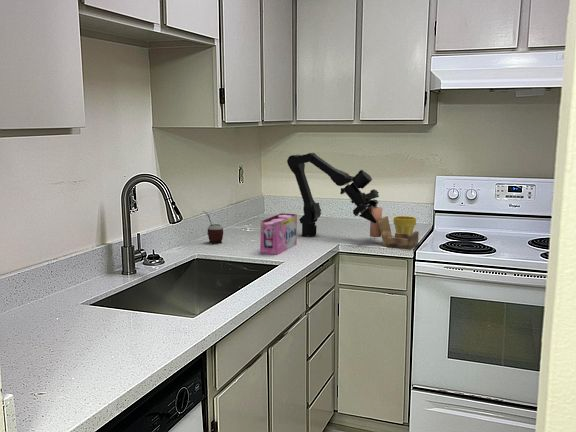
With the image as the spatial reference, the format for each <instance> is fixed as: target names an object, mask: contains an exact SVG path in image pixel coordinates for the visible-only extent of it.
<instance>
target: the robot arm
mask: <svg viewBox="0 0 576 432" xmlns="http://www.w3.org/2000/svg"><path fill="white" fill-rule="evenodd" d="M286 162H287V165H288V167H289V170H290V171H291V172H292V173H293V174H294V176H295V180H296V183H297V185H298V188H299V192H300V195H301V198H302V202H303V215H302V216H301V217H300V218H299V223H300V224H301V236H302V237H316V235H317V225H316V222H318V219H319V218H320V217H321V215H322V209H321V207H320V203H319V202H316V201H315V200H314V199H313V195H312V192H311V188H310V185H309V182H308V179H307V176H306V173H305V172H306V171H305V167H306V164H307V163H311V164H312V165H314V166H315V167H316V168H317V169H319V170H321V172H323V173H324V174H325V175H327V176H328V177H329V178H330V180H331V182H333V183H334V184H335V185H336V186H338V187H340V195H344V194H346V195H347V196H348V198H349V199H350V203H351V204H354V205H355V206H356V207H355V208H354V209H353V210H352V214H353V215H354V217H360V218H363V219H365V220H366V221H369V222H370V221H371V222H373V223H376V222H377V221H376V220H375V218H374V216H373V215H372V213H371V207H378V204H379V201H378V200H377V199H376V198H379V197H380V195H379V193H380V192H379V191H378V190H376V189H375V188H374V189H371V190H369V192H368V193H365V192H362V191H361V190H360V189H362V190H363V189H365V187H367V186H368V185H369V184H370V183H371V182H372V181H373V177H372V176H371V175H370V174H369V173H367V172H366V171H364V169H360V170H359V171H358V173H356V174H355V175H350V174H349V173H348V172H345V171H343V170H340V169H338V168H336V167H334V166H332V165H331V164H330V163H328V162H327V161H326V160H324V159H323V158H321V157H320V156H319V155H317V154H316V153H315V152H308V153H306V154H293V155H292V154H291V155H290V156H289V157H288V158H287V161H286ZM344 186H345V187H344Z"/></svg>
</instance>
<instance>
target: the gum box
mask: <svg viewBox="0 0 576 432" xmlns="http://www.w3.org/2000/svg"><path fill="white" fill-rule="evenodd" d="M297 218H298V213H297V214H296V213H286V212H285V213H283V212H281V213H278V214H276V215H274V216H271V217H270V216H269V217H267V218H265V219H263V220H261V221H260V246H259V247H260V248H259V250H260V251H259V253H260V254H266V255H278V254H280V253H283V252H285V251H286V250H288V249H290V248H293V247H294V246H296V245H298V244H297V239H298V238H297V235H298V234H297V233H298V232H297V230H298V229H297V228H298V219H297Z"/></svg>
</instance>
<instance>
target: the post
mask: <svg viewBox="0 0 576 432" xmlns="http://www.w3.org/2000/svg"><path fill="white" fill-rule="evenodd" d="M371 213H372V215H373V216H374V218H375V220H376V221H377V222H376V223H373V222H371V221H369V222H370V223H369V224H370V226H369V236H370V237H372V238H382V236H381V231H380V227H379V222H378V220H379V219H381V218H383V207H381V206H377V207H371Z"/></svg>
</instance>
